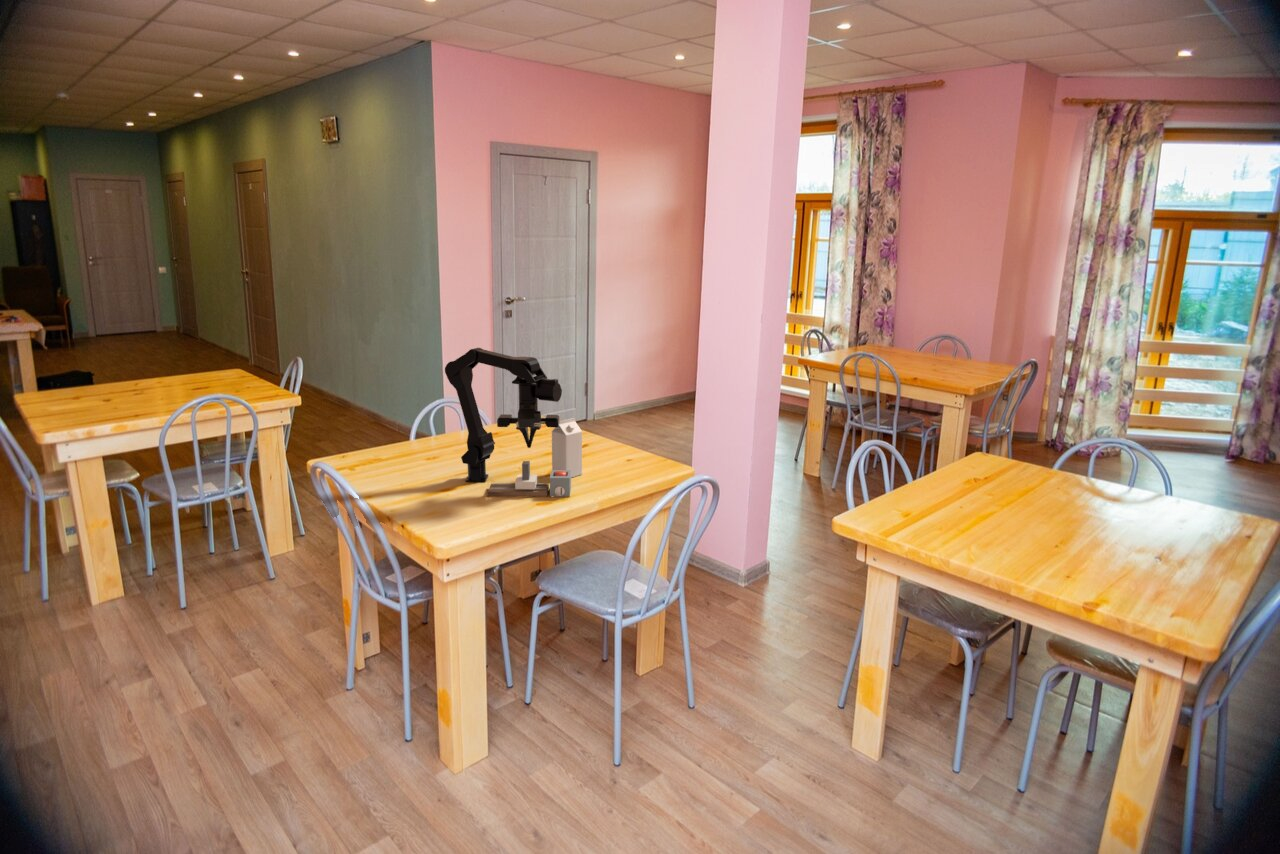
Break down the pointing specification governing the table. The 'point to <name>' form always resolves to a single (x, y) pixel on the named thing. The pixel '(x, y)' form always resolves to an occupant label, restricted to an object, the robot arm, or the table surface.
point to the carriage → (526, 478)
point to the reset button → (560, 473)
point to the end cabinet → (560, 484)
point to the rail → (516, 490)
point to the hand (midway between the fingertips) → (529, 447)
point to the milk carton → (567, 447)
